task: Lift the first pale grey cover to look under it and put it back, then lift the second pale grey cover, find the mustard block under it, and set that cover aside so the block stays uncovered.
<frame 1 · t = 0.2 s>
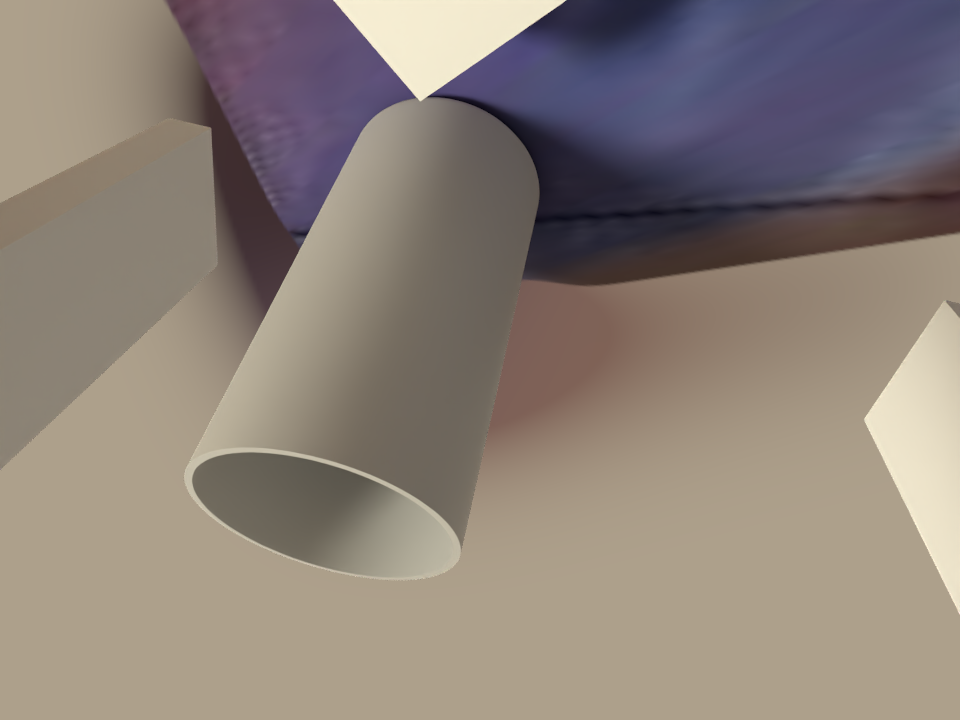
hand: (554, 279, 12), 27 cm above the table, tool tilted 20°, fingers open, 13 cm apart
cylinder vase: (448, 176, 45), on the table
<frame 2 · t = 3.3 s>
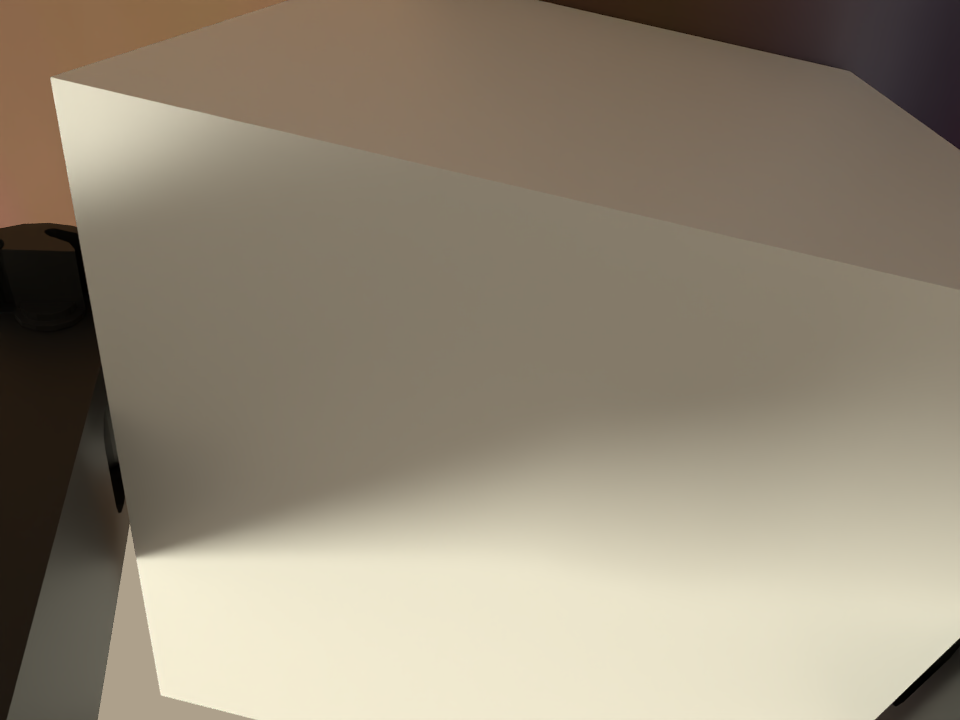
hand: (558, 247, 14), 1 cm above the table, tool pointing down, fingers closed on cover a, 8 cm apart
cover a: (561, 231, 14), on the table, touching gripper
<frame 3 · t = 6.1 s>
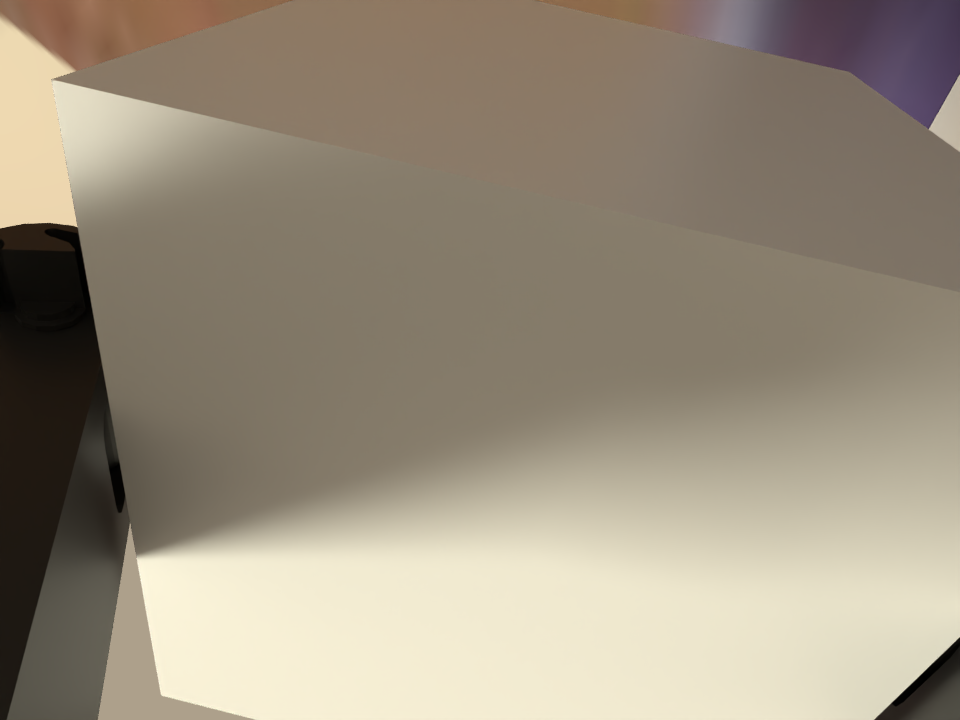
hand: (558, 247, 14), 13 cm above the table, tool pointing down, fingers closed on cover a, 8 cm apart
cover a: (560, 231, 14), point 12 cm above the table, touching gripper
when the fingers open (2 cm above the table, at t = 8.7 s): cover a drops 1 cm, on the table.
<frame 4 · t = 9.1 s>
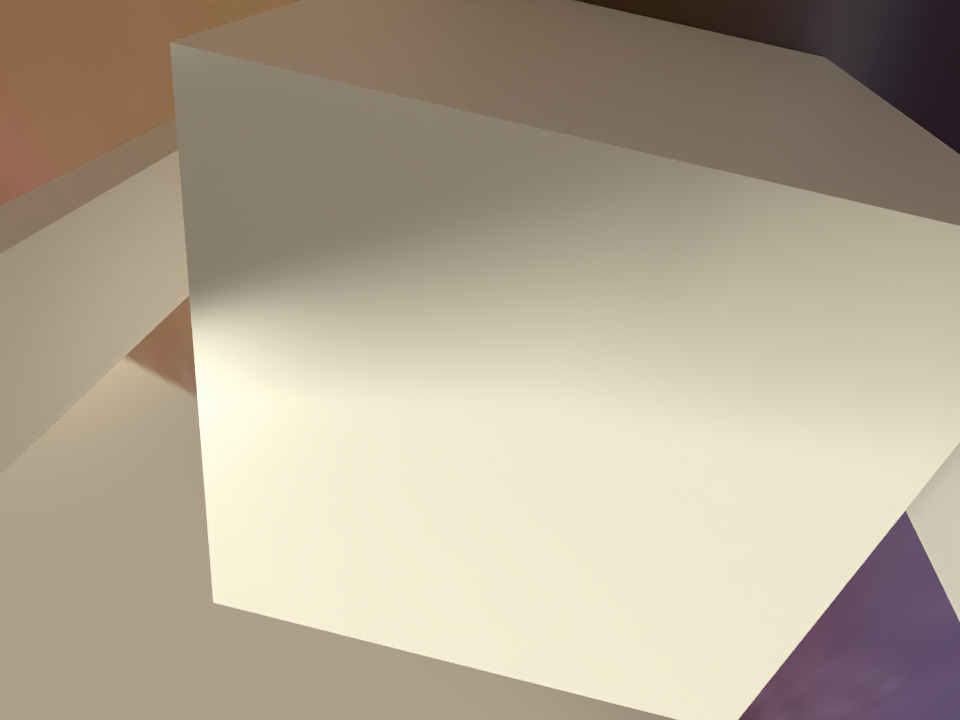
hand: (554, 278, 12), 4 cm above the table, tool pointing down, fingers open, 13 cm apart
cover a: (564, 206, 16), on the table
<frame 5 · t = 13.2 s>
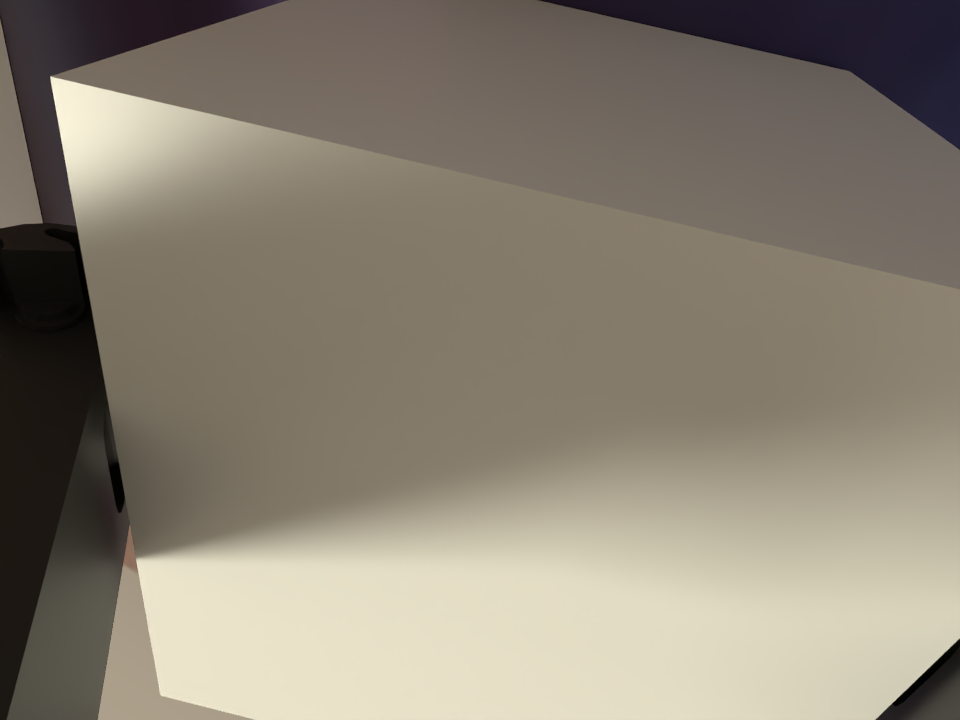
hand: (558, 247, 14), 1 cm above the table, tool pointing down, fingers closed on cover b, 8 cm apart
cover b: (561, 231, 14), on the table, touching gripper
when the fingers open (2 cm above the table, at t = 20.1 s): cover b drops 1 cm, on the table.
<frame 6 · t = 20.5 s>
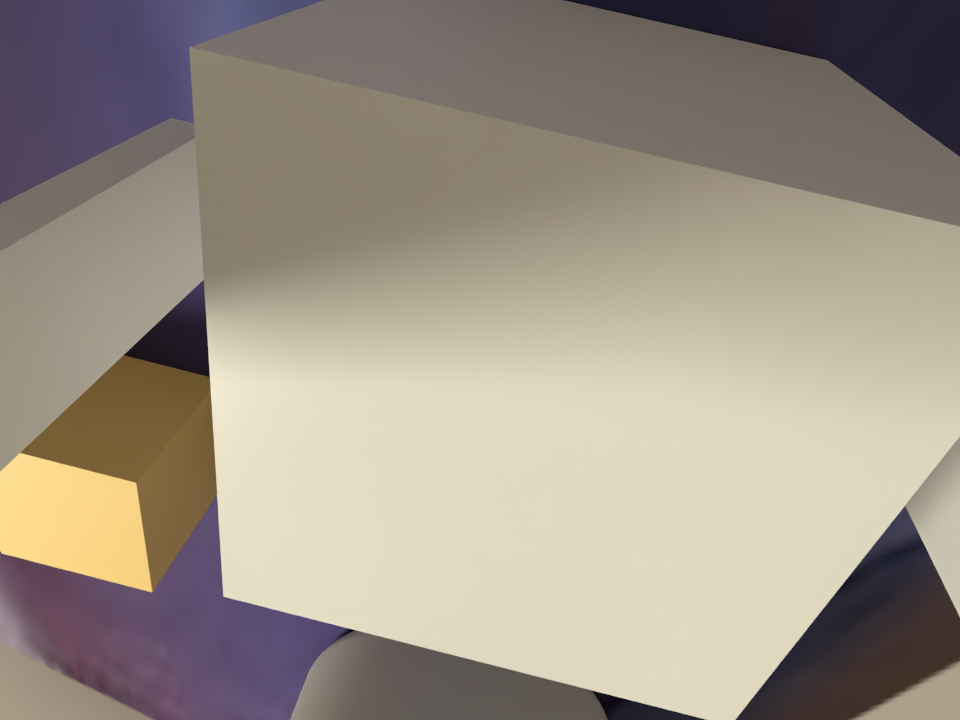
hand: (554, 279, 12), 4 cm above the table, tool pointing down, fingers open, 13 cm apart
cover b: (568, 207, 16), on the table
cylinder vase: (459, 698, 28), on the table
block: (155, 415, 22), on the table
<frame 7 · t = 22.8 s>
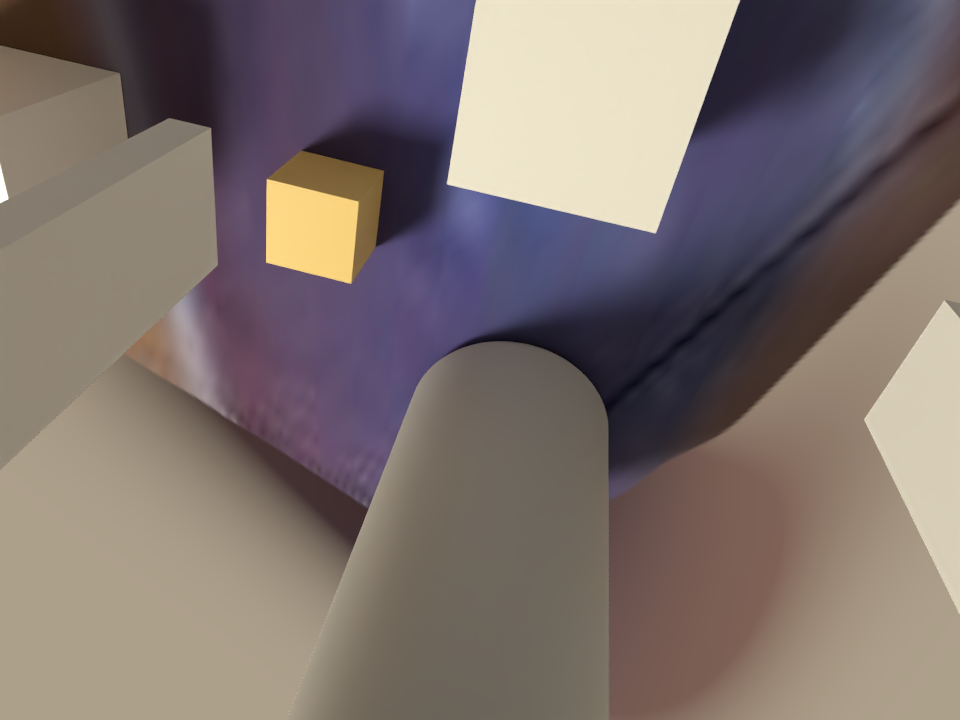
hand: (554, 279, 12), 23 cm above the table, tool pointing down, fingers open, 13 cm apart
cover b: (585, 51, 31), on the table
cover a: (57, 134, 37), on the table
cylinder vase: (509, 415, 44), on the table
block: (340, 199, 37), on the table
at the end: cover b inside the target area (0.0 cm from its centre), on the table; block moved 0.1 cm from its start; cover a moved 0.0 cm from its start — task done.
